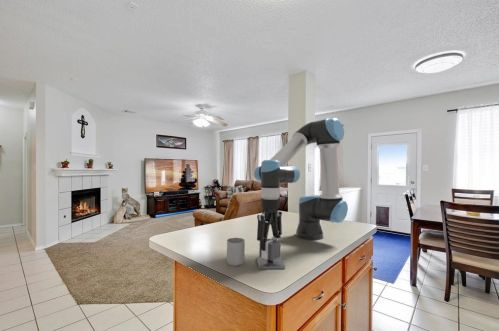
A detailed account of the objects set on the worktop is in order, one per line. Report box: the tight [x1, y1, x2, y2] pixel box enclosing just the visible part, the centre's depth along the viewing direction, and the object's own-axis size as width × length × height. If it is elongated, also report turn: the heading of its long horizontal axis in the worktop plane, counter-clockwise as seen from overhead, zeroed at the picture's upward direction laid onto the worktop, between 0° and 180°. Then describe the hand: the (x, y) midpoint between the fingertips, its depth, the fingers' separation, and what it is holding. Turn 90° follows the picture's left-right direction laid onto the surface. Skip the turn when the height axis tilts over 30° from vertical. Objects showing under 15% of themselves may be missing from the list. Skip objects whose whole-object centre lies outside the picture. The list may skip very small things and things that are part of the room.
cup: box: [226, 237, 246, 267], centre depth 93 cm, size 7×10×9 cm
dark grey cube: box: [258, 238, 282, 261], centre depth 91 cm, size 6×6×6 cm
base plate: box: [256, 256, 286, 270], centre depth 91 cm, size 10×10×4 cm
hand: (269, 255), depth 91 cm, fingers closed on dark grey cube, 6 cm apart
